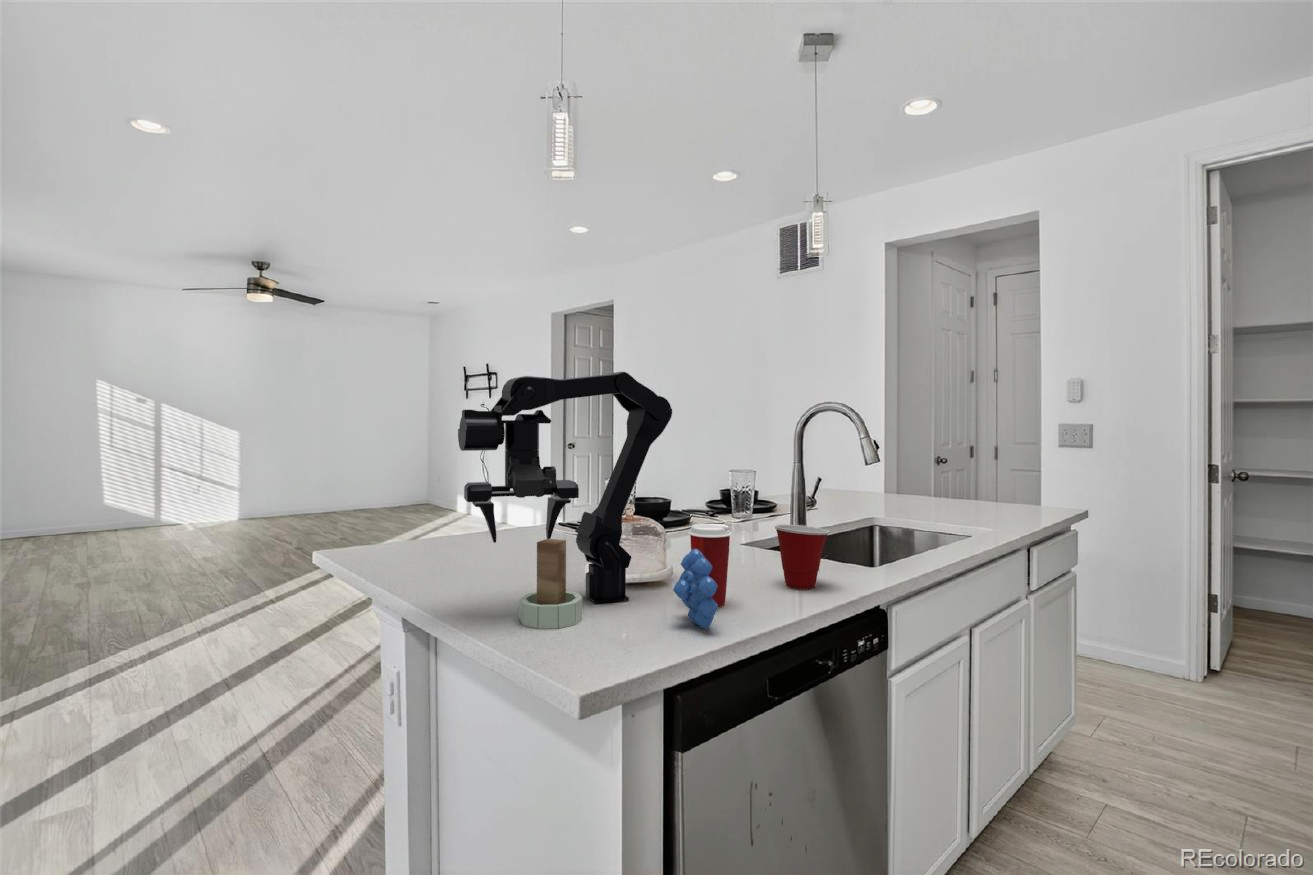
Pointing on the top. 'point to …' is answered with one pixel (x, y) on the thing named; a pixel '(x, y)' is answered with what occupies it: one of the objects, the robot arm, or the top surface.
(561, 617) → the pale green faceted bowl
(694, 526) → the paper cup
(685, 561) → the grapes
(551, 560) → the layered tan brick
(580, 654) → the top surface
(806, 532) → the plastic cup
